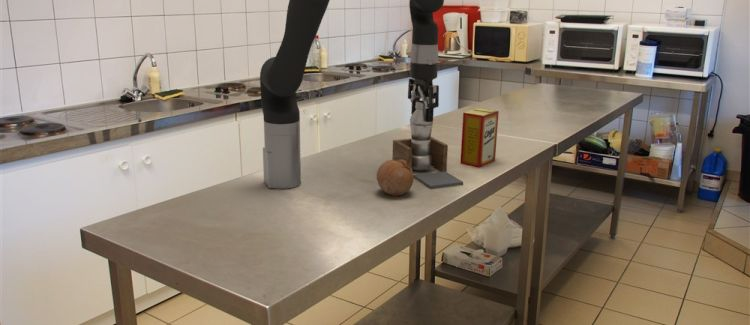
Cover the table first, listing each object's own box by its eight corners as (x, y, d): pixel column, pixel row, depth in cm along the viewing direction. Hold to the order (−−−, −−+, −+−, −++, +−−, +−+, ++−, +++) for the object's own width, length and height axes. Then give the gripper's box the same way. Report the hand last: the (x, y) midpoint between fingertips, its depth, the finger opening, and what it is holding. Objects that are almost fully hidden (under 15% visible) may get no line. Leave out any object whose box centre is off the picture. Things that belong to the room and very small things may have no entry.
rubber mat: (430, 188, 163) (430, 185, 162) (413, 177, 171) (413, 175, 171) (463, 184, 166) (463, 181, 166) (445, 174, 175) (445, 171, 175)
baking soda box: (479, 168, 181) (483, 114, 177) (460, 163, 185) (463, 111, 181) (494, 161, 189) (498, 109, 184) (476, 157, 192) (479, 106, 188)
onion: (408, 203, 161) (426, 170, 158) (391, 204, 153) (410, 169, 150) (380, 183, 165) (398, 151, 163) (363, 183, 157) (381, 149, 154)
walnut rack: (407, 176, 172) (408, 148, 170) (392, 166, 181) (392, 140, 179) (446, 172, 177) (447, 145, 175) (429, 162, 186) (431, 136, 184)
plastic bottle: (430, 174, 175) (433, 104, 169) (406, 172, 176) (408, 103, 171) (432, 167, 181) (435, 100, 175) (409, 165, 182) (412, 98, 177)
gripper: (400, 58, 175) (399, 114, 179) (423, 64, 162) (421, 125, 167) (424, 57, 177) (422, 112, 182) (448, 63, 165) (445, 123, 169)
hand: (421, 118), depth 174 cm, fingers open, 8 cm apart
